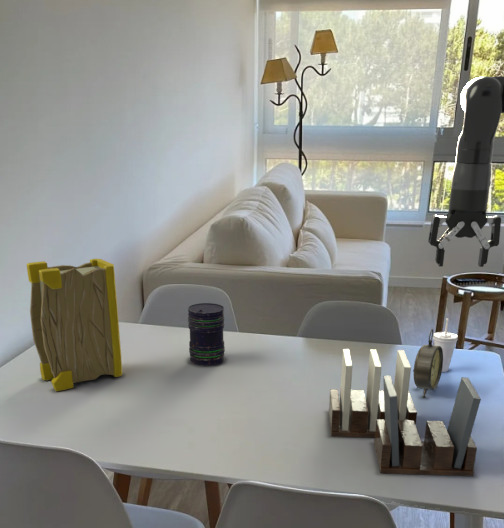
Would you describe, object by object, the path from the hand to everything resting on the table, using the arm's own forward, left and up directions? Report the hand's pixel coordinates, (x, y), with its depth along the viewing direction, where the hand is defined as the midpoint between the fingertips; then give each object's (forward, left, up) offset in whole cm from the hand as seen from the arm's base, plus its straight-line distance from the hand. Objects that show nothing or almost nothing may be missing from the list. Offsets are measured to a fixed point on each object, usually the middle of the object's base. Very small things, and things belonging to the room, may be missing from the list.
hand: (460, 265), depth 151 cm
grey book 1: (+15, +25, -33) cm, 44 cm away
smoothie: (-5, -28, -34) cm, 45 cm away
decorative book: (+90, -15, -34) cm, 97 cm away
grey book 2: (+3, +25, -33) cm, 41 cm away
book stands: (+13, +17, -34) cm, 40 cm away
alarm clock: (+2, -12, -34) cm, 36 cm away
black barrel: (+59, -31, -34) cm, 75 cm away
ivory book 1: (+24, +9, -33) cm, 41 cm away
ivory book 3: (+11, +9, -33) cm, 36 cm away
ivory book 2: (+18, +9, -33) cm, 38 cm away
